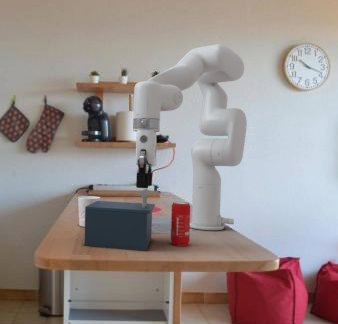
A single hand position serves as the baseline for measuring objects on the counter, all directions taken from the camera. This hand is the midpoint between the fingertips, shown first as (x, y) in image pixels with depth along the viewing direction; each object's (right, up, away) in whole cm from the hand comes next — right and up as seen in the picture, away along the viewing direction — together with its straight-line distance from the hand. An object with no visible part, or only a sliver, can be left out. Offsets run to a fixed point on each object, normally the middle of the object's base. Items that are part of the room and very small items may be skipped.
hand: (144, 186), depth 110 cm
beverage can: (+11, -17, +2) cm, 20 cm away
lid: (-6, -6, +2) cm, 9 cm away
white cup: (-16, -16, +27) cm, 35 cm away
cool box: (-7, -16, +2) cm, 18 cm away
